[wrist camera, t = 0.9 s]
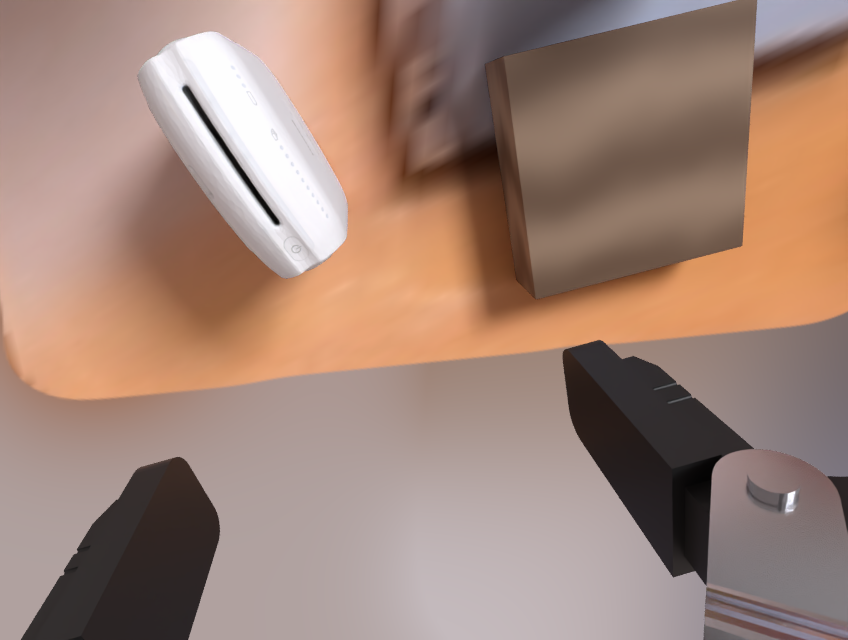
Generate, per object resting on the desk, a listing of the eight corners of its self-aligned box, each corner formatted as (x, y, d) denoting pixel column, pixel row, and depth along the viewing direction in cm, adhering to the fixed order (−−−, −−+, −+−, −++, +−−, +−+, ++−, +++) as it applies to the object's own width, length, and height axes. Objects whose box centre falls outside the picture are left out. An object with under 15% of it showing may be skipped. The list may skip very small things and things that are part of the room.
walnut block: (484, 64, 28) (503, 56, 25) (706, 10, 29) (757, -5, 25) (516, 280, 34) (535, 299, 31) (701, 232, 35) (742, 245, 31)
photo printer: (358, 207, 31) (360, 258, 19) (301, 240, 31) (271, 309, 20) (261, 45, 27) (193, -9, 15) (197, 85, 27) (84, 61, 16)
